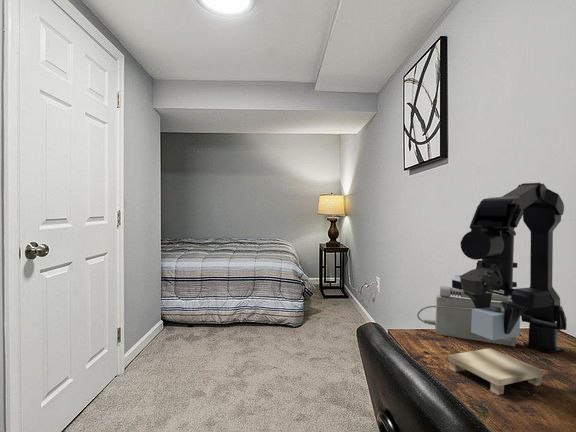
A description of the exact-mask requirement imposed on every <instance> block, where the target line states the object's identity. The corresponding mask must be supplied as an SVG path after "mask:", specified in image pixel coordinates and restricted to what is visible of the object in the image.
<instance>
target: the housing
mask: <svg viewBox="0 0 576 432" xmlns="http://www.w3.org/2000/svg"><path fill="white" fill-rule="evenodd" d="M520 325H521V317H520V318H519V319H518V321H517V323H516V324H515V326H514V327H513V329H512V331H511V332H510V334H505V333H504V308H502V307H498V306H490V307H488V308H478V309H472V323H471V332H472V333H475V334H477V335H480V336H483V337H485V338H488V339H490V340H498V339H504V338H511V337H516V338H517V337H520V329H521V326H520Z"/></svg>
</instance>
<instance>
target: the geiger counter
mask: <svg viewBox="0 0 576 432" xmlns="http://www.w3.org/2000/svg"><path fill="white" fill-rule="evenodd" d="M463 292H465V291H463V290H460V289H456V288H452V287H451V286H449V285H439V294H437V295H436V296H435V305H427V306H425V307H422V308H421V309H420V310H418V312H417V315H416V316H417V319H418V320H419V321H421V322H423V324H426V325H427V324H428V325H432V326H434V328H435V329H434V334H435V335H439V334H440V335H441V336H446V337H453V338H459V339H467V340H473V341H478V342H479V341H480V342H484V343H490V344H498V345H502V344H503V345H504V346H508V347H516V340H517V339H516V338H517V337H511V338H504V339H498V340H490V339H488V338H485V337H483V336H480V335H477V334H475V333H472V332H471V323H472V309H476V308H475V305H474V303H473V301H472V300H471V299H470V298H469V297H468V296H467V295H465V294H464V293H463ZM490 293H491V292H490ZM507 301H508V297H507V296H503V295H499V294H495V293H492V298H491V304H490V306H498V307H502V308H503V306H502V304H501V302H507ZM429 308H435V315H434V316H435V320H433V319H424V320H423V319H421V318H420V316H419V315H420V314H421V313H422V312H423V310H426V309H429Z"/></svg>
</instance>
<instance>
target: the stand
mask: <svg viewBox="0 0 576 432" xmlns="http://www.w3.org/2000/svg"><path fill="white" fill-rule="evenodd" d="M447 358H448V359H447V361H448V362H449V370H451V371H452V372H455V373H457V372H461V371H462V369H464V370H466V371H468V372H470V373H472V374H474V375H476V376H478V377H479V378H482V379H483V380H486V381H487V382H489V383H490V390H489V391H490V392H492V393H493V394H495V395H497V396H500V395H504V393H505V386H506V385H510V384H514V383H519V382H523V381H527V383H529V384H531V385H533V386H535V387H538V386H541V385H542V381H543V377H544V370H543V369H541V368H539V367H536V366H534V365H531V364H529V363H527V362H524V361H522V360H519V359H517V358H515V357H512V356H510V355H507V354H506V353H503V352H500V351H498V350H496V349H493V348H490V347H488V348H482V349H478V350H476V349H475V350H472V351H471V350H470V351H466V352H465V351H464V352H459V353H454V354H448V357H447Z"/></svg>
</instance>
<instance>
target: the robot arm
mask: <svg viewBox="0 0 576 432" xmlns="http://www.w3.org/2000/svg"><path fill="white" fill-rule="evenodd" d="M564 211H565V204H564V202H563V200H562V197H561V196H560V195H559V193H558V192H556V191H553V190H551V189H549V188H547V186H546V185H545V183H541V182H526V183H521V184H518V185H517V187H516V188H514V189H513V190H510V191H508V192H507V193H505V194H504V195H502V196H498V197H495V196H494V197H487V198H484V199H481V201H480V202H479V204H478V205H477V207H476V209H475V212H474V215H473V217H472V220H471V222H470V225H469V229H470V231H468V232H467V233H465V234H464V235H463V236H462V238H461V240H460V249H461V251H462V253H463V255H465V256H466V257H467V258H469V259H471V260H477V262H476V266H475V268H474V269H471V270H469V271H466V272H465V273H463V274H461V275H455V276H454V277H453V278H452V279H451V288H456V289H460V290H463V291H465V292H463V293H464V294H465V295H467V296H468V297H469V298H468V299H471V300H472V301H473V303H474V305H475V308H476V309H478V308H488V307H490V304H491V301H492V300H491V298H492V293H495V294H499V295H503V296H507V297H508V301H507V302H501V301H500V302H501V304H502V306H503V308H504V333H505V334H510V332H511V331H512V329H513V327H514V326H515V324H516V323H517V321H518V319H519V318H520V319H521V322H522V323H523V322H524V323H527V324H528V323H529V325H528V338H527V339H528V341H522V345H524V346H526V347H529V348H532V349H535V350H536V351H540V352H543V353H545V354H553V353H557V352H562V351H564V348H563V347H560V346H558V343H557V342H558V331H561V330H563V331H566V330H567V329H568V328H567V326H568V325H567V316H566V315H565V314H566V313H565V311H564V309H563V308H564V307H563V306H562V305H561V296H559V294H558V293H557V291H556V290H555V289H554V287H553V265H554V263H553V259H554V258H553V257H554V256H553V252H554V247H553V246H554V245H553V243H554V236H553V235H554V231H555V229H556V228H557V227H558V225H559V224H560V223H561V222H562V216H564ZM521 219H522V222H523V223H524V224H525V226H526V227H527V228H528V230H529V232H530V248H529V249H530V256H529V257H530V258H529V259H530V261H529V262H530V264H529V265H530V267H529V268H530V269H529V275H530V276H529V277H530V279H529V287H521V288H520V287H519V288H518V287H517V285H518V283H517V281H513V279H514V278H513V277H514V269H515V268H518V262H514V248H515V245H514V244H515V236H516V235H517V233H516V231H515V229H516V228H517V227H518V226H519V223H520V222H521ZM490 292H491V293H490Z"/></svg>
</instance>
